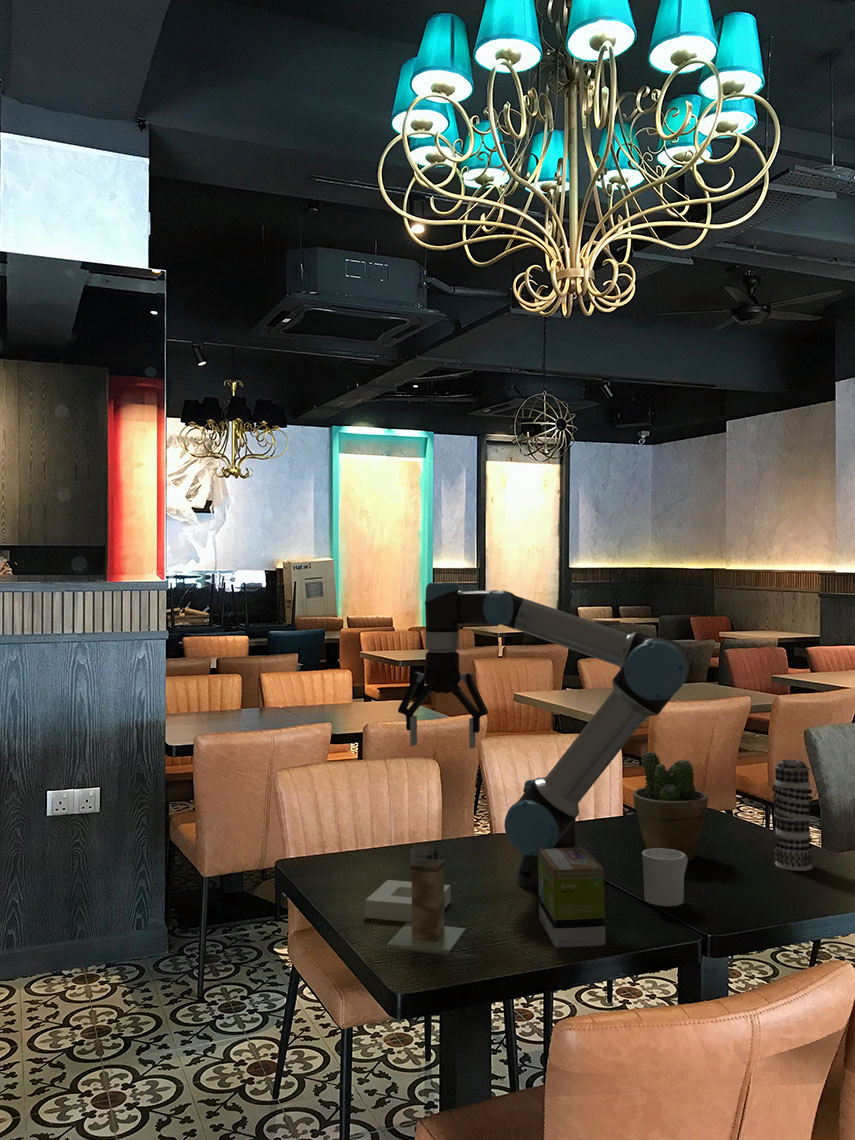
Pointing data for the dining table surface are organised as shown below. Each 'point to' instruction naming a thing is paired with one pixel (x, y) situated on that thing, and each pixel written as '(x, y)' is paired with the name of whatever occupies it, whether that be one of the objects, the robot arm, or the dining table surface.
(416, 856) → the stone
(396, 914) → the white square platform
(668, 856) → the mug
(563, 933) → the tea box
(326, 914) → the dining table surface
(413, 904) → the brown tall block
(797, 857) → the decorative candle
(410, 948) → the mat
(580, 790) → the robot arm
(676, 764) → the potted plant
